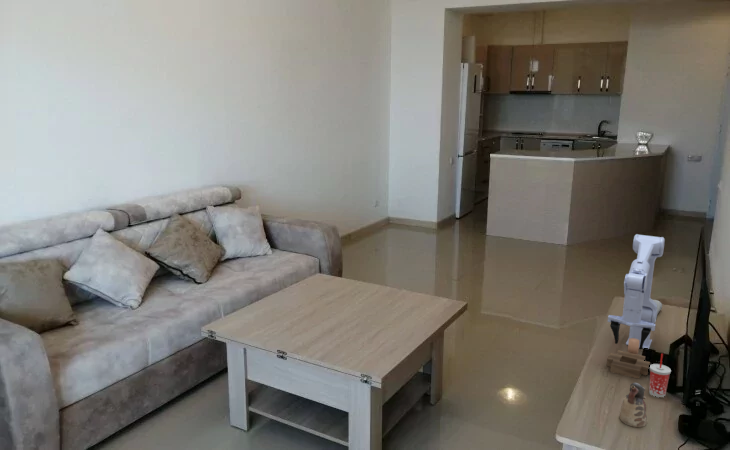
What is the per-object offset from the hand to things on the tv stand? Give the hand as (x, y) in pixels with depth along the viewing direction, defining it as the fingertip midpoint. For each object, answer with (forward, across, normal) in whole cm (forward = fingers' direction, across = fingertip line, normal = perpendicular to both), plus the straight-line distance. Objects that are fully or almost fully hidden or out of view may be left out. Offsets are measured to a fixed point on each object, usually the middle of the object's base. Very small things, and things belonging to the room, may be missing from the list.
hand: (628, 345), depth 193 cm
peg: (+10, 0, +14) cm, 17 cm away
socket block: (+10, 0, +4) cm, 11 cm away
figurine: (+10, +7, -31) cm, 33 cm away
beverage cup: (+10, +11, -10) cm, 18 cm away
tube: (+11, 0, +58) cm, 59 cm away
